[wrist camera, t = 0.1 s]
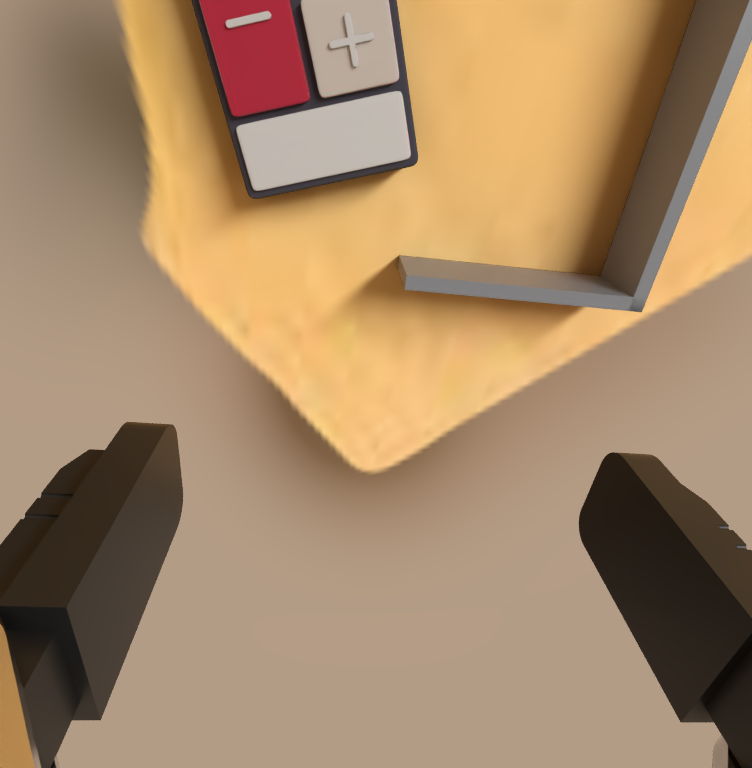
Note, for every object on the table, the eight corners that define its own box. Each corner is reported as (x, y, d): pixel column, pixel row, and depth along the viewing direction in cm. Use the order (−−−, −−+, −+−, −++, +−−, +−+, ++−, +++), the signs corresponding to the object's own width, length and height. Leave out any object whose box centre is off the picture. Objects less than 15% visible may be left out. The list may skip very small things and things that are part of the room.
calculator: (374, -176, 23) (421, 165, 30) (371, -131, 27) (413, 162, 34) (151, -122, 23) (247, 202, 30) (179, -85, 27) (258, 195, 34)
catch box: (468, -243, 24) (495, -320, 20) (775, -177, 26) (862, -234, 22) (397, 268, 37) (404, 289, 32) (608, 289, 39) (641, 312, 34)
